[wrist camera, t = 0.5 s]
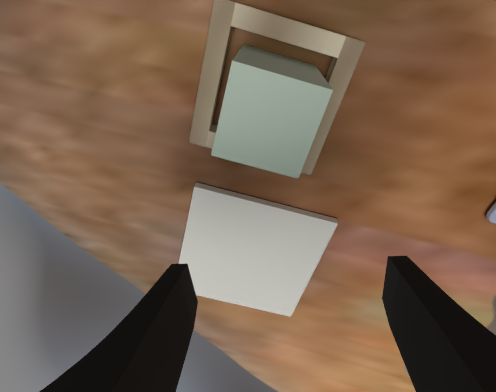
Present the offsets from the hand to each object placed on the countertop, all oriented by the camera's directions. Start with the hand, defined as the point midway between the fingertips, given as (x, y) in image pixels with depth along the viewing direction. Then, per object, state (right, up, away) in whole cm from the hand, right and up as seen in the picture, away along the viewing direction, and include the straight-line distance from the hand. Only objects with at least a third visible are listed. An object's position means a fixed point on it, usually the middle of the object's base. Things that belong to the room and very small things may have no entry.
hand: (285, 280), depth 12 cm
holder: (0, +9, +7) cm, 11 cm away
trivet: (-1, -1, +13) cm, 13 cm away
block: (0, +9, +7) cm, 11 cm away
